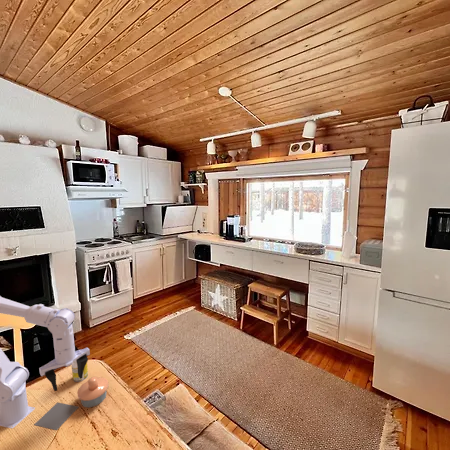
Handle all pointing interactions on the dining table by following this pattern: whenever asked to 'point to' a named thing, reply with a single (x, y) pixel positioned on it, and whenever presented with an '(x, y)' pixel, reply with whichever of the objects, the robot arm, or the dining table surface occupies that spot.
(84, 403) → the cup
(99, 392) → the lid
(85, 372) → the supplement bottle
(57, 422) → the mat
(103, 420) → the dining table surface
